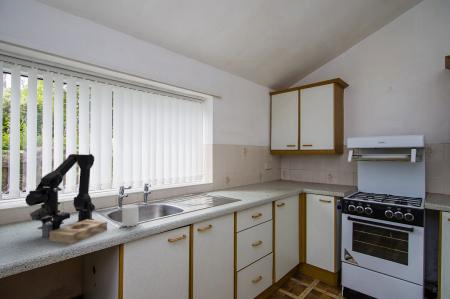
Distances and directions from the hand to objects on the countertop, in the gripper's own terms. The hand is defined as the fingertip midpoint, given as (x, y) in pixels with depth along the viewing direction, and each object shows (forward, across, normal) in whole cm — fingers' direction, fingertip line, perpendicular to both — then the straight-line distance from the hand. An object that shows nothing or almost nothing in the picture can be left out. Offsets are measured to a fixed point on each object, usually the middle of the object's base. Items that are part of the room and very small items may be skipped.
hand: (51, 232), depth 117 cm
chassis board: (+1, +13, +5) cm, 14 cm away
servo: (+1, 0, 0) cm, 1 cm away
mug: (+2, +25, +26) cm, 36 cm away
